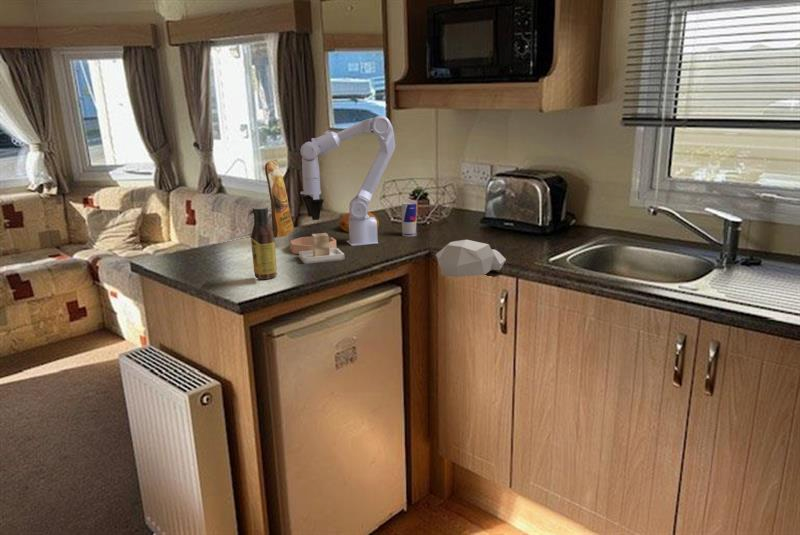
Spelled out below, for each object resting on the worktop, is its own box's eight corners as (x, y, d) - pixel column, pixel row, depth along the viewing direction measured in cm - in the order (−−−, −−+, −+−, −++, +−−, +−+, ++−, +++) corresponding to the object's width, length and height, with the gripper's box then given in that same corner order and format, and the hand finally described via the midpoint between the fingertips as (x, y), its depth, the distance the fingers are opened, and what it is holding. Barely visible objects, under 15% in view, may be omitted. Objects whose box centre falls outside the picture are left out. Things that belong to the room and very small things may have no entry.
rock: (435, 264, 179) (435, 232, 177) (503, 263, 178) (504, 231, 176) (435, 280, 162) (435, 245, 159) (511, 280, 160) (511, 245, 158)
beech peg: (326, 254, 191) (325, 232, 190) (329, 257, 187) (328, 235, 186) (313, 255, 190) (311, 234, 188) (315, 258, 186) (314, 236, 184)
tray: (337, 253, 195) (337, 248, 195) (344, 259, 186) (344, 254, 186) (299, 257, 191) (298, 251, 191) (304, 263, 182) (303, 258, 182)
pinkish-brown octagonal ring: (330, 243, 211) (329, 234, 210) (339, 251, 197) (339, 242, 196) (288, 247, 206) (287, 238, 205) (295, 256, 193) (294, 247, 192)
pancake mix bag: (264, 240, 218) (257, 162, 211) (281, 230, 236) (276, 158, 229) (282, 240, 217) (276, 162, 210) (298, 230, 235) (293, 157, 228)
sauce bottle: (256, 275, 171) (250, 205, 166) (278, 274, 172) (273, 204, 167) (252, 281, 165) (246, 209, 160) (275, 280, 165) (270, 208, 160)
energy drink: (415, 237, 217) (414, 204, 214) (400, 237, 218) (400, 204, 215) (418, 234, 222) (417, 202, 219) (403, 234, 223) (403, 201, 220)
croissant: (366, 226, 241) (366, 206, 239) (385, 232, 228) (384, 211, 226) (333, 230, 234) (332, 209, 232) (350, 236, 221) (349, 215, 219)
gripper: (296, 176, 208) (298, 215, 212) (303, 181, 195) (305, 222, 198) (316, 175, 211) (318, 214, 214) (324, 179, 197) (326, 220, 201)
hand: (313, 218), depth 206 cm, fingers open, 7 cm apart
